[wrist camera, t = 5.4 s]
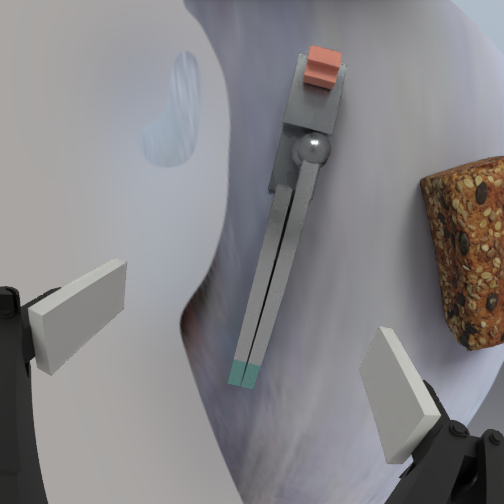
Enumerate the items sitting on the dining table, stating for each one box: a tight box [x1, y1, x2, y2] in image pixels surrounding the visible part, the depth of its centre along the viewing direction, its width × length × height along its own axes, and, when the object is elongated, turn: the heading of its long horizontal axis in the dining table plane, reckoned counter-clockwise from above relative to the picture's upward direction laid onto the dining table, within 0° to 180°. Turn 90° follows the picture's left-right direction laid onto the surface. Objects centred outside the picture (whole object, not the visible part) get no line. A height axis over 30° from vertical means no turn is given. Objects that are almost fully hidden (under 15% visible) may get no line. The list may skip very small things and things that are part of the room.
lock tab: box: [303, 45, 342, 90], centre depth 21 cm, size 3×3×3 cm
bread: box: [420, 156, 504, 351], centre depth 24 cm, size 19×11×10 cm, turn 19°
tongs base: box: [228, 53, 347, 386], centre depth 27 cm, size 31×5×7 cm, turn 167°
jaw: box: [241, 133, 331, 390], centre depth 27 cm, size 23×2×7 cm, turn 166°
